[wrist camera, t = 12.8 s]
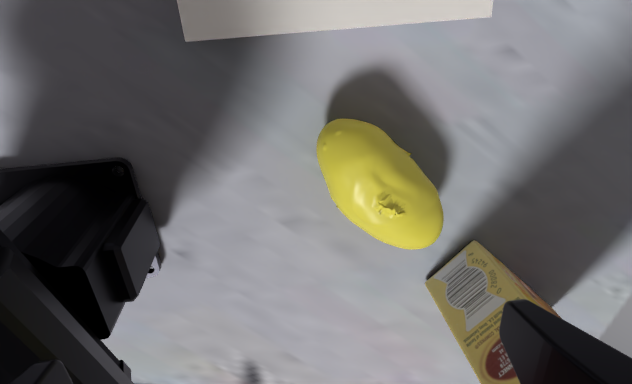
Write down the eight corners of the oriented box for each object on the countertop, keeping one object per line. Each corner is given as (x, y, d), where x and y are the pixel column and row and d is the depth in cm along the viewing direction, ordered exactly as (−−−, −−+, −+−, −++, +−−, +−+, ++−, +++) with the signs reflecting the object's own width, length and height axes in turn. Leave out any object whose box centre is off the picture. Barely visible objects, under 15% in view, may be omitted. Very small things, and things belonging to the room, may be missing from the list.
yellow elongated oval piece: (362, 84, 18) (384, 105, 15) (444, 203, 21) (478, 243, 18) (289, 140, 19) (294, 172, 15) (379, 246, 22) (400, 293, 19)
